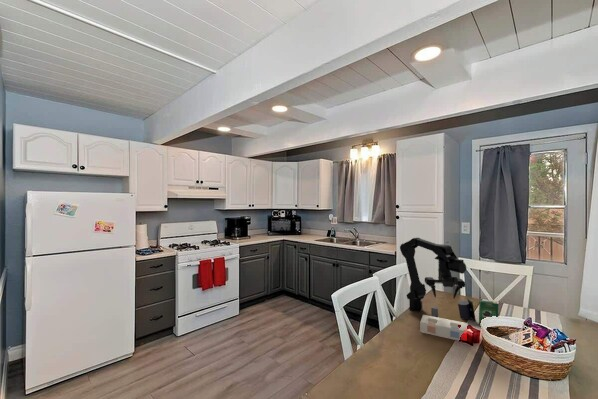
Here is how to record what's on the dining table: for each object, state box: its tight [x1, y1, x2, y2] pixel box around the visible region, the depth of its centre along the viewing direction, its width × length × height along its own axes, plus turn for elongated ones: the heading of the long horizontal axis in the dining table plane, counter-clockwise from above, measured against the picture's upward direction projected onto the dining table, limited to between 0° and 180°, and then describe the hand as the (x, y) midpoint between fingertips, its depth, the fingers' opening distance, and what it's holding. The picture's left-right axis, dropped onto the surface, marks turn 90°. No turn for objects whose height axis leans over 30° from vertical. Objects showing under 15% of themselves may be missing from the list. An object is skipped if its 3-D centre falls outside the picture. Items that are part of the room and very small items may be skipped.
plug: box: [430, 305, 439, 318], centre depth 149 cm, size 3×3×8 cm
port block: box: [419, 314, 469, 342], centre depth 137 cm, size 20×10×5 cm, turn 58°
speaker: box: [457, 298, 477, 322], centre depth 154 cm, size 8×6×10 cm
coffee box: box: [478, 299, 499, 325], centre depth 143 cm, size 8×3×13 cm, turn 70°
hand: (444, 297), depth 150 cm, fingers open, 9 cm apart
